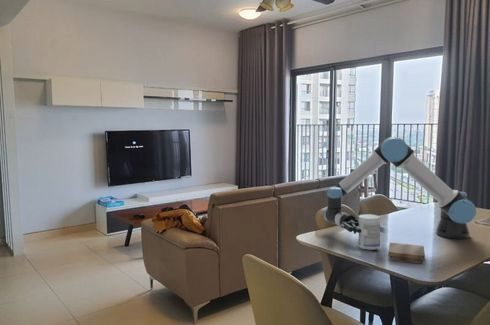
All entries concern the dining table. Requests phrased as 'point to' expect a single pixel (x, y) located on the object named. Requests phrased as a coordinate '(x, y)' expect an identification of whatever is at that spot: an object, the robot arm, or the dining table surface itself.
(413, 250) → the walnut stand
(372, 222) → the supplement tub
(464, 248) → the dining table surface
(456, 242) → the dining table surface
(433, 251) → the dining table surface
